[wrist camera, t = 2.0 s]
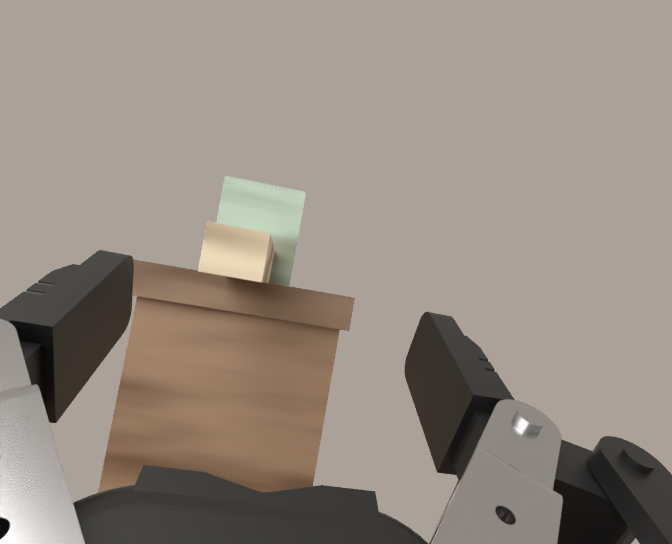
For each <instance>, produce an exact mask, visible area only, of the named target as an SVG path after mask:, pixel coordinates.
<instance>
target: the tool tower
mask: <svg viewBox="0 0 672 544" xmlns="http://www.w3.org/2000/svg"><path fill="white" fill-rule="evenodd" d="M133 261H134V274H133V293H132V295H134V296H137V300H136V305H135V310H134V315H133V320H132V325H131V330H130V336H129V340H128V346H127V350H126V356H125V361H124V365H123V370H122V376H121V380H120V385H119V390H118V396H117V400H116V406H115V410H114V415H113V420H112V425H111V431H110V435H109V440H108V445H107V450H106V456H105V461H104V466H103V471H102V476H101V481H100V486H99V491H98V493H100V492H103V491H106V490H110V489H114V488H119V487H123V486H130V485H135V483H136V481H137V479H138V476H139V474H140V472H141V469H142V467H143V465H149V466H158V467H167V468H175V469H184V470H193V471H201V472H206V473H209V474H212V475H214V476H217V477H220V478H223V479H225V480H228V481H231V482H234V483H237V484H239V485H242V486H245V487H248V488H250V489H253V490H256V491H260V492H274V491H281V490H289V489H297V488H305V487H313V481H314V475H315V469H316V464H317V458H318V452H319V445H320V440H321V435H322V429H323V423H324V417H325V411H326V405H327V400H328V394H329V388H330V382H331V376H332V371H333V365H334V359H335V354H336V347H337V341H338V336H339V330H340V329H341V330H348V331H349V327H350V322H351V316H352V311H353V305H354V299H355V298H351V297H346V296H340V295H335V294H330V293H324V292H318V291H312V290H306V289H301V288H295V287H288V286H282V285H277V284H271V283H263V282H256V281H251V280H245V279H239V278H233V277H228V276H222V275H216V274H210V273H205V272H199V271H197V270H192V269H186V268H180V267H175V266H168V265H162V264H157V263H150V262H145V261H139V260H133Z"/></svg>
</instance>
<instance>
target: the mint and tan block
mask: <svg viewBox="0 0 672 544" xmlns="http://www.w3.org/2000/svg"><path fill="white" fill-rule="evenodd" d="M305 194H306V192H303V191H298V190H293V189H288V188H283V187H278V186H273V185H268V184H264V183H259V182H253V181H249V180H243V179H239V178H234V177H229V176H225V180H224V185H223V191H222V196H221V202H220V206H219V211H218V217H217V222H216V223H213V222H207V226H206V232H205V237H204V242H203V247H202V252H201V257H200V263H199V268H198V271H199V272H205V273H210V274H216V275H222V276H228V277H233V278H239V279H245V280H251V281H256V282H263V283H271V284H277V285H282V286H288V287H289V283H290V278H291V272H292V267H293V261H294V256H295V250H296V244H297V239H298V234H299V228H300V222H301V217H302V211H303V206H304V200H305Z"/></svg>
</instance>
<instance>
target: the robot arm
mask: <svg viewBox="0 0 672 544" xmlns="http://www.w3.org/2000/svg"><path fill="white" fill-rule="evenodd" d="M133 274H134V261H133V258H132V256H129V255H124V254H118V253H113V252H107V251H103V250H99V251H97V252H96V253H95V254H93V255H92V256H91V257H90V258H88V259H87V260H86V261H84V262H83V263H82V264H81V265H75V264H72V265H69V266H66V267H63V268H60V269H57V270H54V271H52V272H50V273H49V274H47V275H46V276H45V277H43V278H42V279H41V280H39V281H38V283H35V284H34V285H32V286H31V287H30V288H28V289H27V291H26V292H22V293H21V294H20V295H18V296H17V297H15V298H14V299H13V300H11V301H10V302H9V303H7V304H6V305H4V306H3V307H2V308H0V544H631V543H632V542H633V540H634V539H635V538H636V539H637V540H638V541H639V543H640V544H672V475H671V474H670V472H669V471H668V470H667V469H666V468H665V467H664V466H663V465H662V464H661V463H660V462H659V461H658V460H657V459H656V458H654V457H653V456H652V455H651V454H649V453H648V452H646V451H645V450H643V449H642V448H640V447H638V446H637V445H635V444H633V443H631V442H629V441H626V440H623V439H621V438H617V437H611V436H606V437H603V438H601V439H600V441H599V442H598V444H597V445H596V447H595V449H594V450H593V451H590V450H588V449H585V448H582V447H580V446H577V445H574V444H572V443H569V442H566V441H564V440H561V434H560V432H559V430H558V428H557V427H556V425H555V424H554V423H553V422H552V421H551V420H550V419H549V418H548V417H547V416H546V415H545V414H543V413H542V412H540V411H539V410H537V409H535V408H534V407H532V406H530V405H528V404H525V403H523V402H520V401H516V400H514V398H513V397H512V395H511V394H510V392H509V391H508V389H507V388H506V386H505V385H504V383H503V382H502V380H501V379H500V377H499V376H498V374H497V373H496V372H494V368H493V366H492V365H491V363H490V362H488V359H487V357H486V356H485V354H484V353H483V351H482V350H481V348H480V347H479V346H478V345H476V344H475V343H474V342H473V341H472V340H471V339H469V338H468V337H467V336H464V335H463V333H462V331H461V330H460V328H459V327H458V325H457V323H456V322H455V320H454V319H453V318H452V317H451V316H446V315H441V314H435V313H430V312H425V313H424V314H423V315H422V317H421V319H420V322H419V325H418V327H417V330H416V333H415V335H414V338H413V341H412V344H411V346H410V349H409V352H408V355H407V357H406V362H405V377H406V381H407V384H408V387H409V390H410V393H411V396H412V399H413V401H414V404H415V408H416V411H417V414H418V416H419V420H420V422H421V425H422V428H423V431H424V434H425V437H426V440H427V443H428V446H429V449H430V452H431V455H432V458H433V461H434V464H435V467H436V470H437V472H438V473H445V474H453V475H457V477H458V480H459V481H458V483H457V485H456V486H455V488H454V491H453V493H452V495H451V497H450V499H449V501H448V503H447V505H446V507H445V510H444V512H443V514H442V516H441V518H440V520H439V522H438V524H437V526H436V528H435V531H434V533H433V535H432V537H431V539H430V541H429V543H427V542H426V541H424V539H423V538H421V536H419V535H418V534H417V533H415V532H414V531H413V530H411V529H410V528H409V527H407V526H406V525H404V524H402V523H401V522H399V521H398V520H396V519H394V518H392V517H390V516H388V515H386V514H383V513H381V512H378V506H377V500H376V494H375V491H366V490H358V489H349V488H340V487H331V486H323V485H321V486H314V487H305V488H297V489H289V490H281V491H274V492H260V491H256V490H253V489H250V488H248V487H245V486H242V485H239V484H237V483H234V482H231V481H228V480H225V479H223V478H220V477H217V476H214V475H212V474H209V473H206V472H201V471H193V470H184V469H175V468H167V467H158V466H149V465H143V467H142V469H141V472H140V474H139V476H138V479H137V481H136V483H135V485H130V486H123V487H119V488H114V489H110V490H106V491H103V492H100V493H97V494H94V495H91V496H88V497H86V498H84V499H81V500H79V501H76V502H74V503H73V501H72V498H71V494H70V491H69V488H68V485H67V481H66V477H65V474H64V471H63V467H62V464H61V461H60V457H59V454H58V450H57V447H56V444H55V440H54V437H53V433H52V430H51V427H50V424H49V422H51V423H56V422H57V421H58V419H59V418H60V417H61V416H62V414H63V413H64V412H65V410H66V409H67V408H68V406H69V405H70V404H71V402H72V401H73V400H74V398H75V397H76V395H77V394H78V393H79V391H80V390H81V389H82V387H83V386H84V385H85V384H86V382H87V381H88V380H89V378H90V377H91V376H92V374H93V373H94V372H95V370H96V369H97V368H98V366H99V365H100V363H101V362H102V361H103V360H104V358H105V357H106V356H107V354H108V353H109V352H110V350H111V349H112V348H113V346H114V345H115V344H116V342H117V341H118V340H119V338H120V337H121V336H122V334H123V333H124V331H125V330H126V327H127V325H128V323H129V320H130V316H131V310H132V293H133Z"/></svg>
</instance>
